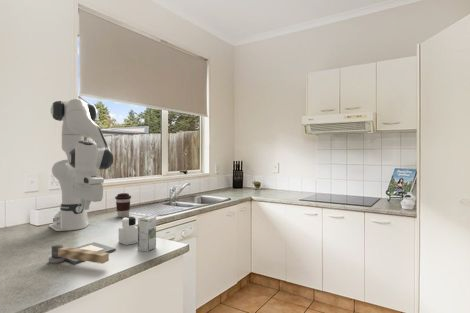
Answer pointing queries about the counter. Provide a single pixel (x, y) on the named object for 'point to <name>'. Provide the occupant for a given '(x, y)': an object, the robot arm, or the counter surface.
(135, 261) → the counter surface
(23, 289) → the counter surface
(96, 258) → the swing arm
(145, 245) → the syrup box
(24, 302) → the counter surface
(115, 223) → the counter surface
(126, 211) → the coffee cup
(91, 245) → the label board
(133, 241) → the medicine bottle
